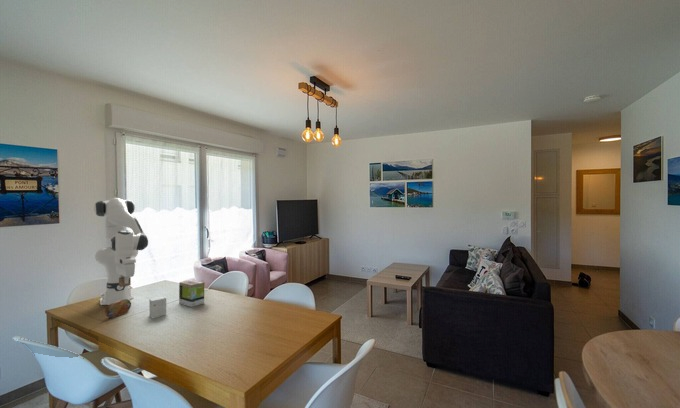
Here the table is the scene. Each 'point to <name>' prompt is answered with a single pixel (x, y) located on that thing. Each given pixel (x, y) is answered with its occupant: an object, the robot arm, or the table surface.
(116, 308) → the tin
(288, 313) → the table surface
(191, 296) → the tea box
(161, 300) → the small box
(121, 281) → the walnut cube
